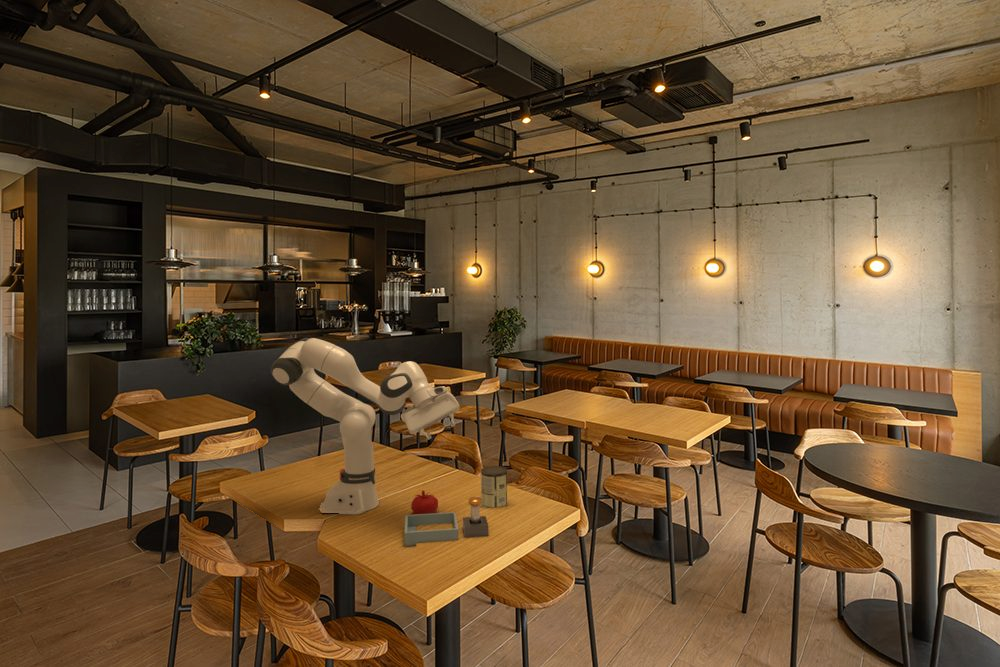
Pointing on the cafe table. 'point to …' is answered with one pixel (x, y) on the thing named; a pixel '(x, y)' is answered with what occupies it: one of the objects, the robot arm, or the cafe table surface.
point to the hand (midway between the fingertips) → (441, 432)
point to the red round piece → (424, 504)
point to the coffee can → (494, 486)
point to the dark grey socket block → (475, 527)
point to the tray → (429, 535)
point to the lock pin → (475, 509)
